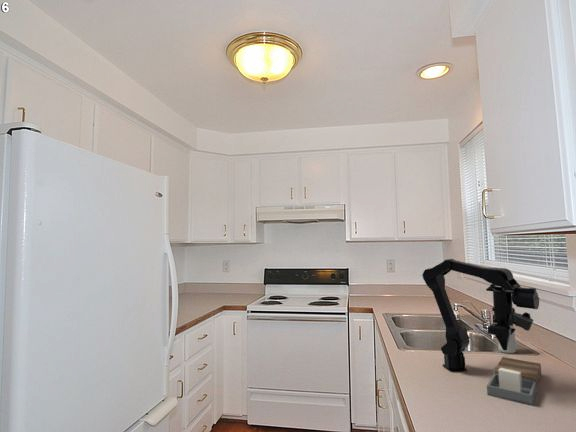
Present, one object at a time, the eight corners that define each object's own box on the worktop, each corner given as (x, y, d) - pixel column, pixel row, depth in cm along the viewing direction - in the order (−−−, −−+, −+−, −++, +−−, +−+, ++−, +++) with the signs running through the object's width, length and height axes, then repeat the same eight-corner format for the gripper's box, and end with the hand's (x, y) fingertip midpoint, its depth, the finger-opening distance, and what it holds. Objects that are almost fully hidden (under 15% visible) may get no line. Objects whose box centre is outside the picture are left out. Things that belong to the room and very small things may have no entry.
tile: (522, 390, 115) (520, 393, 113) (501, 385, 119) (499, 388, 117) (521, 372, 115) (519, 374, 113) (500, 367, 119) (498, 369, 118)
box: (532, 405, 106) (531, 395, 106) (487, 394, 114) (486, 385, 114) (536, 391, 115) (535, 381, 116) (494, 382, 123) (494, 373, 123)
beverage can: (518, 354, 149) (516, 325, 150) (502, 353, 150) (500, 325, 151) (512, 349, 155) (510, 321, 156) (496, 349, 157) (494, 321, 157)
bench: (536, 390, 116) (535, 378, 116) (495, 381, 123) (494, 370, 124) (541, 374, 128) (540, 363, 128) (503, 367, 136) (502, 357, 136)
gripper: (525, 313, 111) (528, 363, 110) (534, 303, 125) (536, 347, 124) (486, 308, 119) (488, 355, 118) (498, 299, 132) (500, 341, 132)
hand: (505, 350), depth 123 cm, fingers closed
